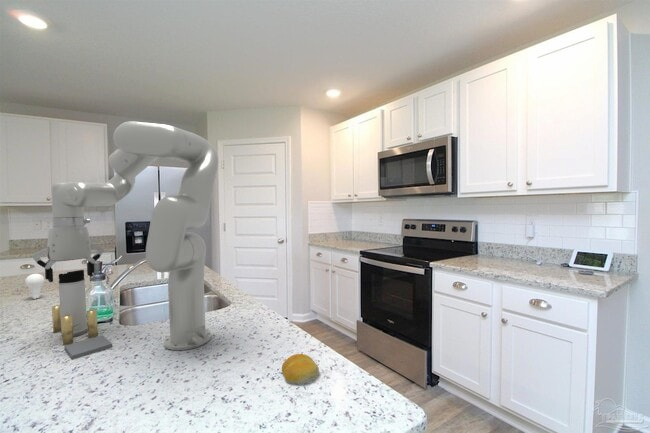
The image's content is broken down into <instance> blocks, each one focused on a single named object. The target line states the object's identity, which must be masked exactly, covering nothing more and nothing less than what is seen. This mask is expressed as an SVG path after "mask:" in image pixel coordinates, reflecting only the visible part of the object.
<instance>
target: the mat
mask: <svg viewBox="0 0 650 433" xmlns="http://www.w3.org/2000/svg"><path fill="white" fill-rule="evenodd" d="M63 346H64V351H65V352H66V353H67V356H69V357H70V359H71V360H74V359H78V358H82V357H84V356H89V355H91V354H92V355H93V354H95V353H98V352H101V351H104V350H107V349H111V348H113V343H112V342H111V341H110V340H109V339H108V338H107V337H106V336H105V335H104V334H103V335H102V334H101V335H98V336H97V337H94V338H88V339H84V340H81V341H78V342H73V343H72V344H69V345H63Z"/></svg>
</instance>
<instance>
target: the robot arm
mask: <svg viewBox="0 0 650 433" xmlns="http://www.w3.org/2000/svg"><path fill="white" fill-rule="evenodd" d="M113 143H114V145H115V146H116V147H117V149H116V150H114V151H113V152H112V153H111V154H110V155H109V156H108V160H107V161H108V165H109V167H110V168H111V169H112V170H113V172H114V173H116V174H115V175H114V176H112V177H111V178H110V179H109V180H107V181H106V182H96V181H74V182H73V181H72V182H56V183H55V182H54V183H52V185H51V211H52V213H51V214H52V227H51V228H50V227H49V229H48V235H47V242H46V244H47V246H46V248H44V249H41V250H40V251H37V252H35V253H33V254H32V255H31V257H32V259H33V261H35V263H36V264H38V265H39V266H40V267H42V268H44V275H45V277H44V280H48V282H49V283H53V282H54V272H53V268H52V266H54V264H55V263H56V262H57V263H58V262H67V261H75V260H77V261H78V260H84V259H85V260H86V261H87V263H86V273H87V274H86V275H87V276H89V277H93V274H94V273H95V264H96V262H97V261H98V260H99V259H100V258H101V256H102V254H103V253H104V251H105V249H104V248H102V247H99V246H97V245H93V244H91V240H90V232H89V230H88V226H86V224H90V223H91V219H90V218H86V217H85V208H93V207H98V208H99V207H110V206H114V205H116V204H118V203H119V202H121V201H122V200H123V199H124V198H126V197H127V196H128V195H129V194H130V193H131V192H132V191H133V189H134V187H135V183H136V177H137V176H138V175H139V174H141V173H142V172H144V170H146V169H147V168H148V167H149V166H150V165H151V164H153V163H154V162H155V161H156V160H158V159H159V158H160V159H161V158H162V159H169V160H174V161H176V162H177V161H178V162H183V163H187V164H188V166H187V168H186V170H185V171H184V173H183V175H182V176H181V180H180V187H179V192H178V194H172V195H171V194H170V195H166V196H164V197H162V198H161V199H159V200H158V201H157V203H156V204H155V206H154V207H153V210H152V214H151V218H150V223H149V228H148V229H149V230H148V234H147V239H146V245H145V259H146V262H147V265H148V266H149V267H150V268H151V269H152V270H154V271H155V272H157V273H169V274H168V280H167V282H168V283H167V287H168V289H167V290H168V291H167V292H168V317H169V318H168V319H169V335H168V336H167V337H165V339H164V340H163V345H164V347H165V348H166V349H168V350H172V351H186V350H191V349H194V348H195V349H196V348H198V347H201V346H203V345H205V344H207V343H208V342H209V341H210V340H211V339H212V332H211V331H210V330H209V329H207V328H206V327H207V326H206V306H205V304H206V303H205V301H206V300H205V299H206V298H205V264H206V258H207V257H206V256H207V247H206V246H207V245H206V242H205V240H204V239H203V238H202V236H200V235H199V234H198V233H195V232H190V230H194V229H198V228H201V227H203V226H204V225H205V224H206V222H207V220H208V217H209V212H210V208H211V207H210V206H211V202H212V198H213V192H214V191H213V190H214V185H215V180H216V177H217V172H218V167H219V156H218V152H217V150H216V149H215V147H214V145H213V144H212V143H210V142H209V141H208V140H207V139H205V137H202V136H201V135H198V134H196V133H194V132H191V131H188V130H186V129H182V128H180V127H176V126H173V125H169V124H165V123H164V124H163V123H154V122H153V123H152V122H144V121H143V122H142V121H137V120H133V121H132V120H129V121H125V122H122V123H121V124H119V125H118V126H117V127H116V128H115V130H114V132H113ZM188 230H189V231H188ZM92 250H94V251H96V253H95V254H94V255H93V256H91V255H92ZM46 254H47V259H48V260H47V261H46V262H45V261H43V260H42V259H41V257H42V256H44V255H46Z"/></svg>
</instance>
